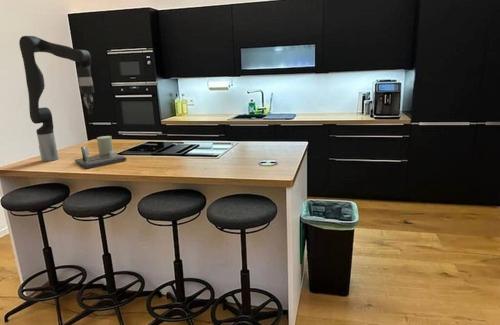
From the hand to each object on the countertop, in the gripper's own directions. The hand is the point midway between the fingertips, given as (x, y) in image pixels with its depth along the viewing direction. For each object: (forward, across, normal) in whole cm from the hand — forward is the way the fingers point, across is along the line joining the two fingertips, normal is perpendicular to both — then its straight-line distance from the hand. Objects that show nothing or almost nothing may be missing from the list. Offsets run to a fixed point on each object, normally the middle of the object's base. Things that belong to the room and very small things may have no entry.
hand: (90, 114), depth 214 cm
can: (+29, -13, +10) cm, 33 cm away
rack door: (+27, -7, -5) cm, 28 cm away
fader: (+27, +11, +6) cm, 30 cm away
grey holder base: (+29, +5, 0) cm, 29 cm away
